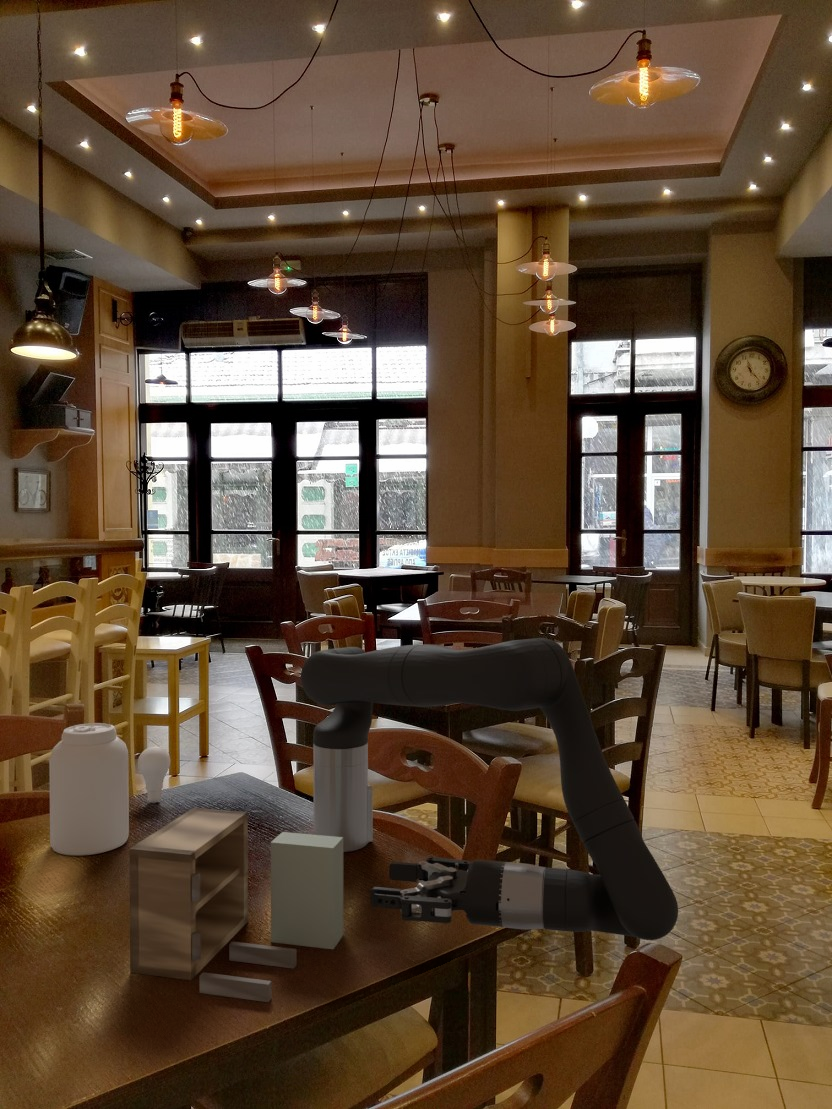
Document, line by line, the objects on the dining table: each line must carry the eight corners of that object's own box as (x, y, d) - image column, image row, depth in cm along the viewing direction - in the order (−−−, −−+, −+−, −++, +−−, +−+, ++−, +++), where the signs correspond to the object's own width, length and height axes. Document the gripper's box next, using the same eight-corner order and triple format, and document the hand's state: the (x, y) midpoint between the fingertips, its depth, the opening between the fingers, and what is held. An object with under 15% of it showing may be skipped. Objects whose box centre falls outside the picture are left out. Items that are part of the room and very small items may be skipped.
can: (50, 862, 140) (49, 738, 139) (49, 837, 151) (48, 722, 151) (132, 850, 145) (131, 731, 144) (125, 827, 156) (124, 716, 156)
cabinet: (194, 915, 120) (193, 807, 120) (323, 930, 116) (322, 818, 116) (119, 981, 103) (118, 855, 102) (268, 1002, 98) (268, 870, 98)
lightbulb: (177, 800, 172) (176, 744, 172) (155, 809, 166) (155, 752, 166) (153, 796, 174) (152, 741, 174) (131, 805, 169) (130, 748, 169)
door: (285, 925, 118) (285, 829, 117) (345, 931, 116) (345, 834, 115) (270, 942, 113) (270, 842, 112) (333, 949, 111) (333, 848, 110)
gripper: (514, 844, 114) (394, 835, 118) (499, 886, 100) (364, 874, 104) (515, 901, 114) (395, 890, 118) (499, 951, 100) (364, 937, 104)
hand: (380, 883), depth 111 cm, fingers open, 8 cm apart
